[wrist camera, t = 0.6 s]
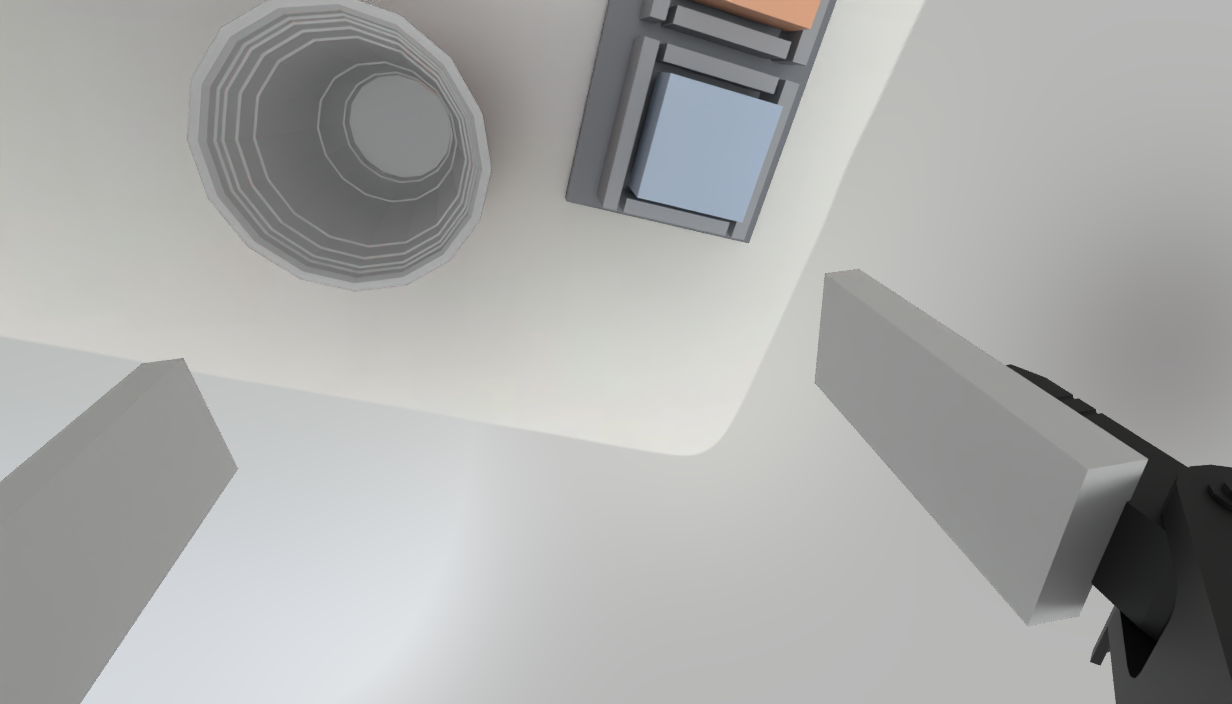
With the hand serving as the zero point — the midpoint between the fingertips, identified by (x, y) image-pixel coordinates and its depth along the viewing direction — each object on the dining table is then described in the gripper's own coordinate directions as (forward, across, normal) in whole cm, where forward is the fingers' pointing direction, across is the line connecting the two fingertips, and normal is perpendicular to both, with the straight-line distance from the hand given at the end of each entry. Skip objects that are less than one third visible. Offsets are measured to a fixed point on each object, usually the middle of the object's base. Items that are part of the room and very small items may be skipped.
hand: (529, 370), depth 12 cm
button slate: (+22, +9, +1) cm, 24 cm away
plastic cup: (+25, -6, +3) cm, 26 cm away
